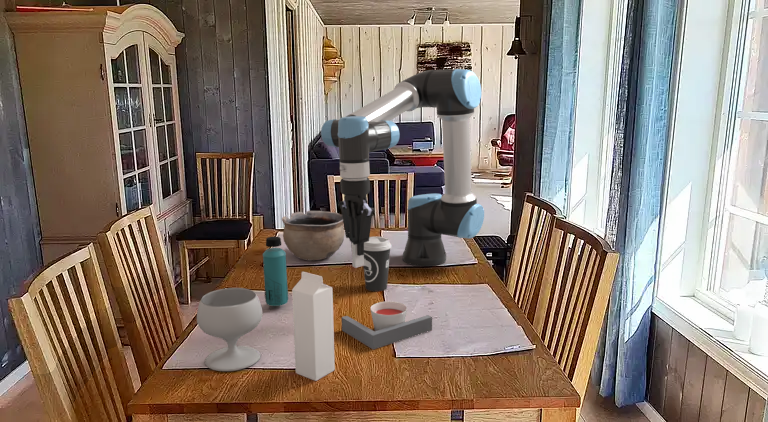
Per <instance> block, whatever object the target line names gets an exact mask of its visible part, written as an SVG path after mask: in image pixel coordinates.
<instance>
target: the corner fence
mask: <svg viewBox="0 0 768 422" xmlns="http://www.w3.org/2000/svg"><path fill="white" fill-rule="evenodd" d="M430 330H431V331H432V330H433V317H432V316H430V315H429V314H426V315H423V316H420V317H417V318H415V319H411V320H407V321H405V322H404V323H401V324H397V325H394V326H391V327H388V328H384V329H381V330H378V331H375V330H373V329H371V328H370V327H367V326H366V325H364V324H362V323H361V322H359V321H357V320H356V319H353V318H352V317H350V316H348V315H345V316H342V317H341V331H342V332H344V333H345V334H347V335H349V336H350V337H352V338H354V339H355V340H357V341H358V342H360V343H362V345H364V346H366V347H368V348H370V349H371V350H376V349H379V348H381V347H385V346H389V345H391V344H395V343H397V341H398V342H400V341H399V340H401V341H403V340H402V339H404V340H406V339H405V338H407V339H409V337H410V338H412V336H413V337H416V336H418V334H419V335H421V333H422V334H425V333H427V331H428V332H431V331H430ZM424 332H425V333H424ZM415 335H416V336H415ZM394 342H395V343H394Z"/></svg>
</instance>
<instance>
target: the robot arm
mask: <svg viewBox="0 0 768 422" xmlns="http://www.w3.org/2000/svg"><path fill="white" fill-rule="evenodd" d="M481 85H482V84H481V83H480V80H479V78H478V76H477V75H476V73H475V72H474V71H473V70H469V69H465V68H464V69H461V68H453V69H451V68H450V69H429V70H424V71H421V72H418V73H415V74H414V75H412V76H409V77H407V78H406V79H403V80H401V81H399V82H398V83H397V84H396V85H395V86H394V88H393V89H392V90H391V91H389V92H387V93H385V94H384V95H382V96H380V97H378V98H377V99H374V100H373V101H371V102H369V103H367V104H366V105H363V106H362V107H360V108H359V109H357V110H355V111H353V112H351V113H349V114H348V115H345V116H343V117H340V118H339V119H337V118H336V119H335V118H334V119H329V120H326V121H325V122H324V123H323V124H322V126H321V130H320V136H321V139H322V141H323V143H324V144H325V145H327V146H328V147H333V148H337V149H338V154H339V155H338V157H339V159H338V160H339V173H340V175H339V176H340V177H341V179H340V180H339V183H340V185H339V186H340V193H341V194H342V195H344V197H343V198H344V199H343V200H342V201H339V202H338V205H339V207H340V210H341V215H342V217H343V227H344V236H345V238H346V239H349V243H350V247H351V260H352V262H351V263H352V264H351V265H352V267H353V268H355V269H357V268H359V267H363V266H364V242H368V241H369V237H371V236H370V235H371V228H372V220H373V214H374V212H375V208H374V207H370V206H369V204H368V203H369V201H368V198H367V195H368V194H370V192H371V182H370V181H371V179H370V178H369V177H370V174H371V172H370V171H371V170H370V153H371V152H377V151H382V150H388V149H391V148H393V147H395V146H396V145H397V144H398V143H399V140H400V135H401V134H400V130H399V127H398V125H397V124H396V123H395V122H394V121H392V120H394V119H395V118H397V117H398V116H400V115H402V114H403V113H405V112H413V111H415V110H416V109H420V108H436V116H437V117H438V118H440V119H441V127H442V148H443V150H442V151H443V170H444V171H443V172H444V176H443V177H444V193H443V195H442V194H441V193H426V194H425V193H424V194H418V195H413V196H411V197H409V199H408V203H407V209H406V210H407V241H406V243H405V248H404V251H403V253H402V260H403V261H404V262H405V263H406V264H408V265H413V266H421V267H429V266H430V267H431V266H438V265H442V264H444V263H445V262H446V261H447V253H446V250H445V246H444V242H443V239H442V235H445V236H450V237H453V238H454V237H456V238H459V239H473V238H474V237H476V236H477V235H478V234H479V233H480V230H481V229H482V227H483V224H484V220H485V209H484V206H483V205H481V204H480V203H478V200H477V198H478V197H477V195H476V194H475V193H474V192H473V191H472V189H473V188H472V159H471V157H472V156H471V155H472V154H471V128H470V127H471V124H470V118H472V116H473V115H474V114H475V109H476V108H477V107H479V105H480V104H481V99H482V86H481Z"/></svg>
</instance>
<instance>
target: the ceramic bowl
mask: <svg viewBox="0 0 768 422" xmlns="http://www.w3.org/2000/svg"><path fill="white" fill-rule="evenodd" d="M281 220H282V223H283V225H284V226H283V232H282V238H283V242H284V244H285V245H286V247H287V249H288V251H290V252H291V254H292V255H294V256H295V257H296V258H299V259H300V260H304V261H318V260H319V261H321V260H324V259H328V258H330V257H331V256H333V255H334V254H335V253H336V252H337V251H338V250H340V248H341V246H342V245H343V243H344V239H345V229H344V223H343V217H342V214H340V213H338V212H333V211H323V210H307V211H306V212H305V213H304V212H302V211H297V212H292V213H291V214H290V218H289V217H287V216H286V215H285V216H283V217H282V218H281Z"/></svg>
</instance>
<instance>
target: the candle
mask: <svg viewBox="0 0 768 422" xmlns="http://www.w3.org/2000/svg"><path fill="white" fill-rule="evenodd" d="M407 307H408V306H407V305H406V304H404V303H401V302H399V301H392V300H391V301H380V302H377V303H374V304H372V305H371V306H370V313H371V314H370V315H371V318H372V323H373V328H374V331H378V330H381V329H384V328H388V327H391V326H394V325H397V324H401V323H404V322H406V316H407V311H408V308H407Z"/></svg>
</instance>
